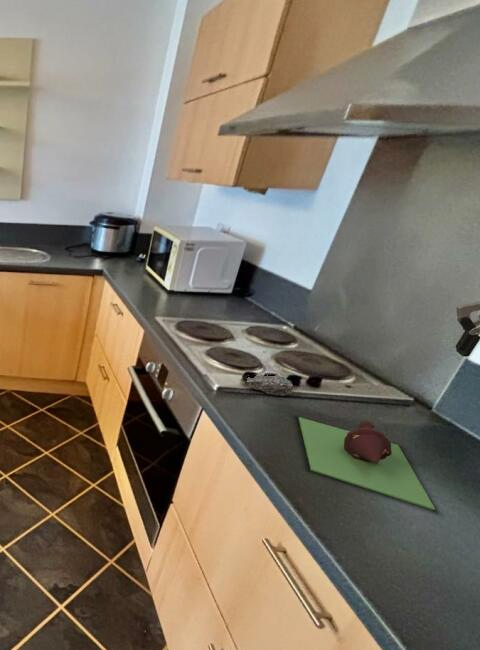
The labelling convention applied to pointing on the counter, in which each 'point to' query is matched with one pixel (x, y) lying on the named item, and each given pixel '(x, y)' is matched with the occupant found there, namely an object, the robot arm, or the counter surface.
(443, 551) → the counter surface
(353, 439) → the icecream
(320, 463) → the cloth
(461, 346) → the robot arm
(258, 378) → the rock
